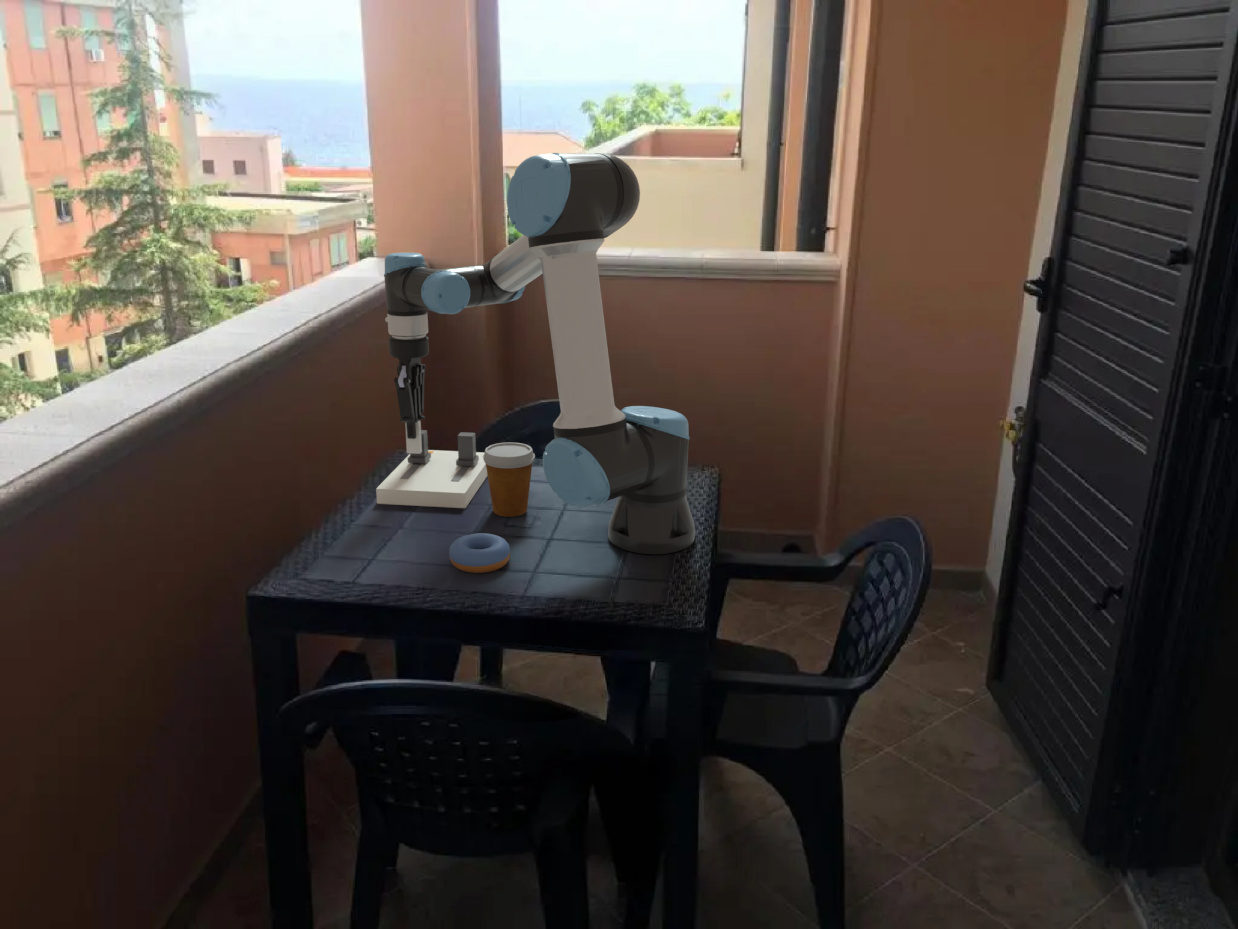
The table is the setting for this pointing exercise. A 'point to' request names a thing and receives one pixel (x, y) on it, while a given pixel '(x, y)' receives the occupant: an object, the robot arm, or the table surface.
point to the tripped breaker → (424, 455)
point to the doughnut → (479, 553)
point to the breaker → (466, 450)
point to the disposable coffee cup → (509, 477)
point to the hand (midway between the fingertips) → (414, 452)
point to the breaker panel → (433, 482)
